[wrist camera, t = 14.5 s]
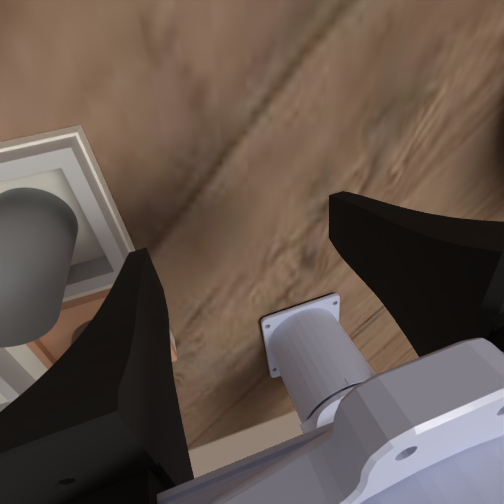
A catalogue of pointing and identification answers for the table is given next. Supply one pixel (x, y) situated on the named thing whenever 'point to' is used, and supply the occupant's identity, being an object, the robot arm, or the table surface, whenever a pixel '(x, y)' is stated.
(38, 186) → the white cylinder holder tray
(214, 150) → the table surface
